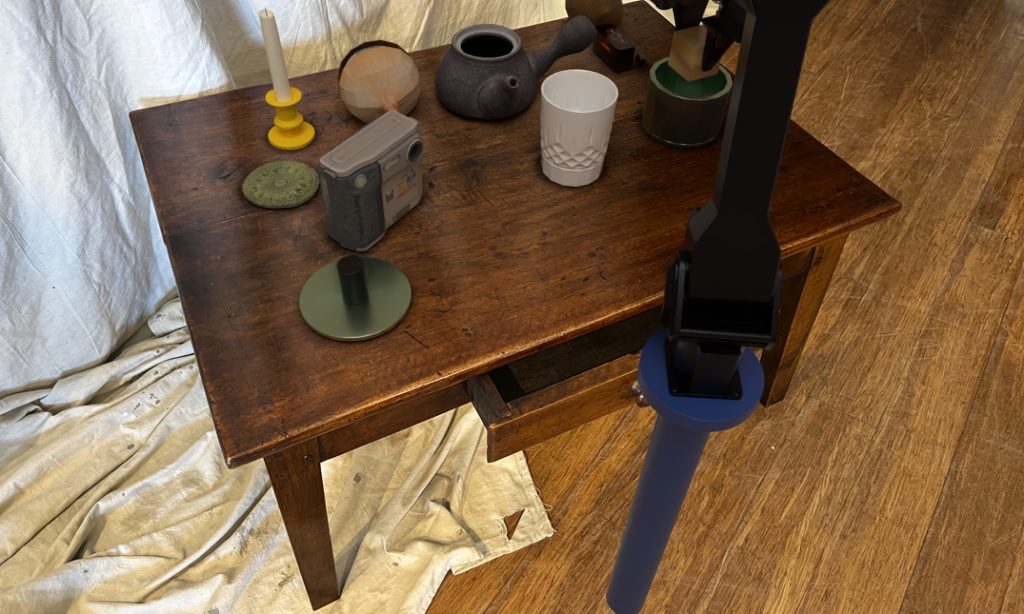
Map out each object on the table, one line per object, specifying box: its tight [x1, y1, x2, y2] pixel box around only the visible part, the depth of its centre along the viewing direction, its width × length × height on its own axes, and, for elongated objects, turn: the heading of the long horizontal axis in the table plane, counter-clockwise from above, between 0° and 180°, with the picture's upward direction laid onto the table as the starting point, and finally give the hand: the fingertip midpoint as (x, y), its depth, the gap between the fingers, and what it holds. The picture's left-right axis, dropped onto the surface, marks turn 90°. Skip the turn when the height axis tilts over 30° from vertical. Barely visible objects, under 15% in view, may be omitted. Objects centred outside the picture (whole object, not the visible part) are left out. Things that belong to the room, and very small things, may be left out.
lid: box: [298, 254, 413, 342], centre depth 72 cm, size 10×10×5 cm
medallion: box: [241, 159, 320, 209], centre depth 84 cm, size 8×8×1 cm
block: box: [668, 24, 722, 82], centre depth 87 cm, size 4×4×4 cm
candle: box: [258, 7, 316, 151], centre depth 85 cm, size 5×5×16 cm
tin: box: [641, 56, 734, 149], centre depth 92 cm, size 9×9×6 cm
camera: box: [316, 111, 425, 253], centre depth 78 cm, size 11×6×10 cm, turn 143°
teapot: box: [434, 15, 597, 120], centre depth 93 cm, size 19×15×10 cm
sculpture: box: [336, 39, 421, 124], centre depth 90 cm, size 9×9×15 cm
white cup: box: [540, 69, 619, 188], centre depth 85 cm, size 8×8×10 cm
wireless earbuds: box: [592, 24, 651, 72], centre depth 103 cm, size 5×7×3 cm, turn 26°
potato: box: [564, 0, 625, 28], centre depth 107 cm, size 8×12×8 cm
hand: (694, 60), depth 88 cm, fingers closed on block, 4 cm apart
